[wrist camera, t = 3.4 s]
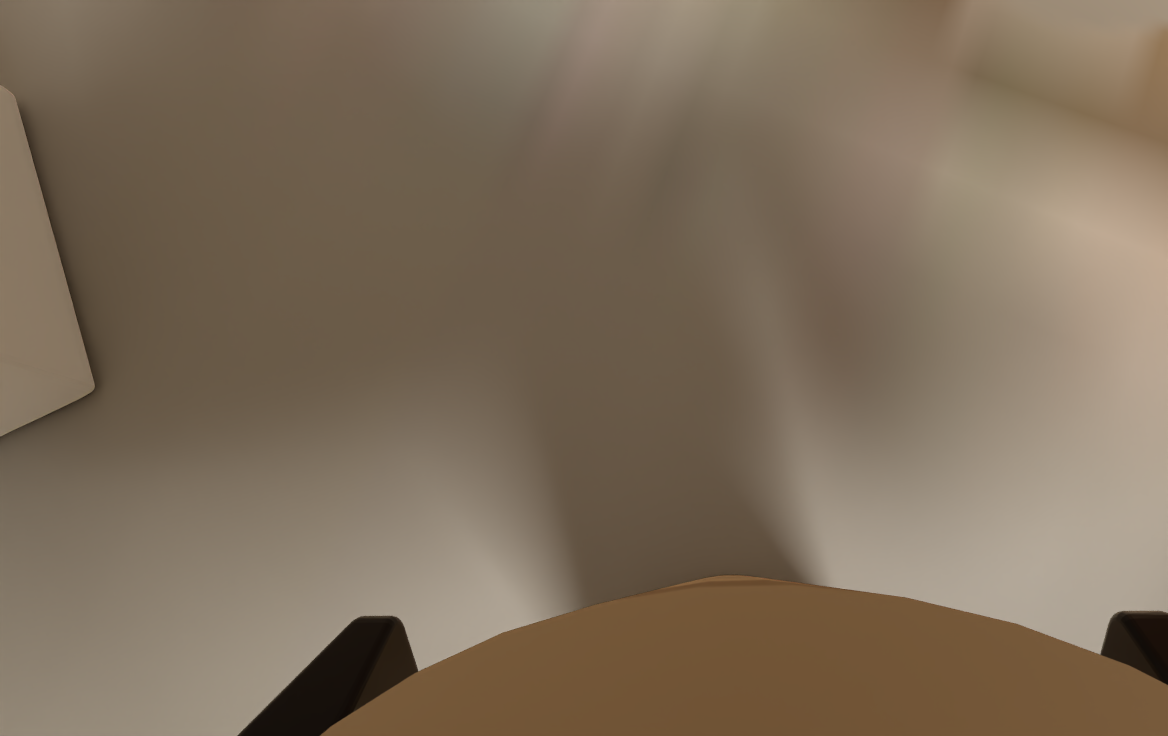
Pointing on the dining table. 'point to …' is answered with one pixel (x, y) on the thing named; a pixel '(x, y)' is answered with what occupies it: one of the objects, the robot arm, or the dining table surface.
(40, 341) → the milk carton
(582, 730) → the dowel
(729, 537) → the dining table surface
